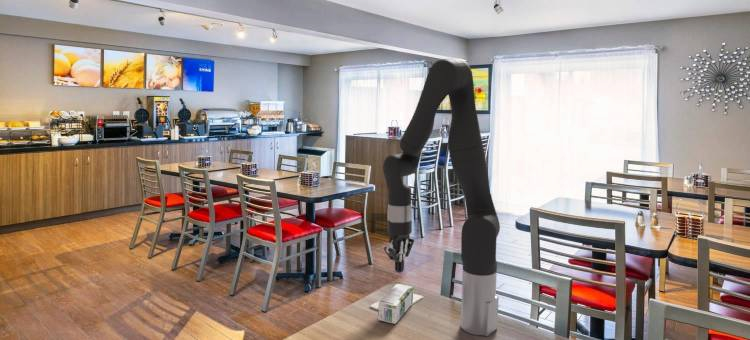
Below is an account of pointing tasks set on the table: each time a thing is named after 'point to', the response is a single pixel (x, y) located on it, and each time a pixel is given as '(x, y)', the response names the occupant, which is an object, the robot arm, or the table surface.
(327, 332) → the table surface
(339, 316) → the table surface
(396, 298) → the syrup box
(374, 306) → the mat
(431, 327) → the table surface
